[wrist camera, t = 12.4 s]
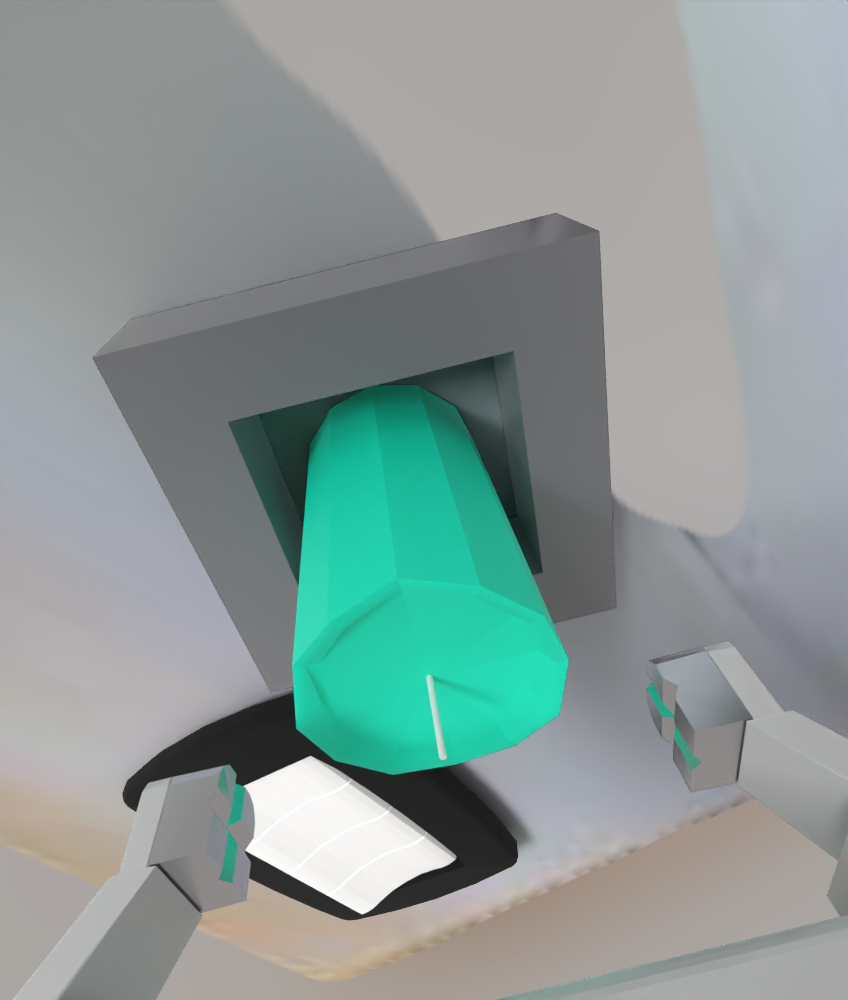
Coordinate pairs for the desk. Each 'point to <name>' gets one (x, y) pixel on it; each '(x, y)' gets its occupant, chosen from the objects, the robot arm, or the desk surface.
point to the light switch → (341, 817)
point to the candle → (414, 595)
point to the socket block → (368, 362)
